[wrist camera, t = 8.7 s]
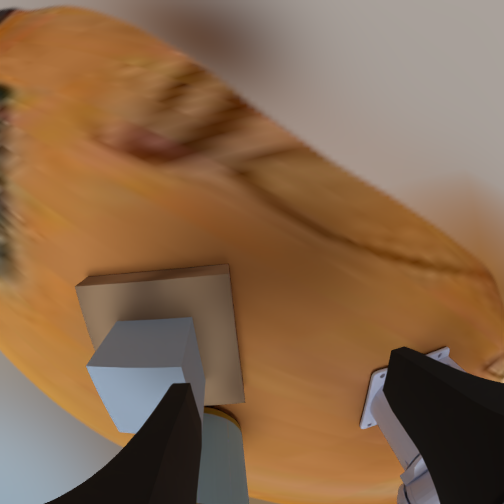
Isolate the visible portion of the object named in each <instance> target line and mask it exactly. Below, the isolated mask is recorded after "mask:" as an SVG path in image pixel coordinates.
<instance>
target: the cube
mask: <svg viewBox="0 0 504 504" xmlns="http://www.w3.org/2000/svg"><path fill="white" fill-rule="evenodd" d="M86 367H87V369H88V372H89V374H90V376H91V378H92V381H93V383H94V385H95V387H96V389H97V391H98V393H99V395H100V397H101V399H102V401H103V403H104V405H105V407H106V409H107V411H108V413H109V414H110V416H111V418H112V420H113V422H114V423H115V425H116V427H117V429H118V430H119V432H126V433H137V432H138V431H139V429H140V428H141V427H142V426H143V424H144V423H145V422H146V420H147V419H148V418H149V416H150V415H151V414H152V412H153V411H154V409H155V408H156V406H157V405H158V404H159V402H160V401H161V399H162V398H163V396H164V395H165V393H166V392H167V390H168V389H169V387H170V386H171V385H172V384H173V383H190V384H191V387H192V391H193V395H194V398H195V402H196V405H197V408H198V412H199V415H200V418H201V421H202V429H203V412H204V396H205V381H206V380H205V376H204V372H203V367H202V363H201V358H200V354H199V349H198V344H197V339H196V334H195V329H194V324H193V319H192V317H185V318H170V319H154V320H135V321H117V322H116V323H115V325H114V326H113V327H112V329H111V330H110V332H109V333H108V334H107V336H106V337H105V339H104V340H103V342H102V343H101V345H100V346H99V347H98V349H97V350H96V352H95V353H94V355H93V356H92V358H91V359H90V361H89V362H88V364H87V365H86Z"/></svg>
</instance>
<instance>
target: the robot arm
mask: <svg viewBox="0 0 504 504" xmlns="http://www.w3.org/2000/svg"><path fill="white" fill-rule="evenodd" d="M449 351H450V349H449V348H448V347H445V348H442V349H440V350H437V351H435V352H432V353H429V354H427V355H424V354H422V353H420V352H417V351H415V350H413V349H410V348H407V347H405V346H404V347H401V348H398V349H394V350H391V355H390V360H389V365H388V368H385V369H382V370H378V371H375V372H374V373H373V374H372V376H371V381H370V385H369V390H368V394H367V399H366V403H365V407H364V411H363V415H362V419H361V422H360V428H361V429H365V428H368V427H371V426H374V425H377V424H378V426H379V428H380V429H381V431H382V433H383V434H384V436H385V438H386V439H387V441H388V443H389V445H390V446H391V448H392V450H393V451H394V453H395V455H396V456H397V458H398V460H399V462H400V463H401V465H402V467H403V468H404V470H405V472H404V473H403V474H401V475H400V477H401V479H402V481H403V482H404V483H403V484H402V485H401V486H400V487H399V490H398V495H397V504H504V383H500V382H495V381H491V380H487V379H484V378H480V377H477V376H474V375H471V374H469V373H467V372H465V371H464V370H463V369H462V368H461V367H460V366H459V365H458V364H456V363H455V362H454V361H453V360H452V359H451V358H450V357H449V356H448V355H449ZM201 450H202V421H201V418H200V415H199V412H198V408H197V405H196V402H195V398H194V395H193V391H192V387H191V384H190V383H173V384H172V385H171V386H170V387H169V389H168V390H167V392H166V393H165V395H164V396H163V398H162V399H161V401H160V402H159V404H158V405H157V406H156V408H155V409H154V411H153V412H152V414H151V415H150V416H149V418H148V419H147V420H146V422H145V423H144V424H143V426H142V427H141V428H140V429H139V431H138V432H137V433H136V434H135V435H134V436H133V438H132V439H131V440H130V441H129V442H128V443H127V445H126V446H125V447H124V448H123V449H122V450H121V451H120V452H119V453H118V454H117V455H116V456H115V457H114V458H113V459H112V460H111V461H110V462H109V463H108V464H106V466H104V467H103V468H102V469H101V470H99V471H98V472H97V473H96V474H94V475H93V476H92V477H90V478H89V479H88V480H86V481H85V482H83V483H82V484H80V485H79V486H77V487H76V488H74V489H72V490H71V491H69V492H67V493H65V494H64V495H62V496H60V497H58V498H56V499H54V500H52V501H50V502H47V503H45V504H196V502H197V488H198V479H199V469H200V460H201Z"/></svg>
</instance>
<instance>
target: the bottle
mask: <svg viewBox="0 0 504 504" xmlns="http://www.w3.org/2000/svg"><path fill="white" fill-rule="evenodd" d="M196 504H249V497H248V488H247V479H246V469H245V460H244V450H243V439H242V433H241V427H240V425H239V424H238V423H237V422H236V420H235V419H233V418H232V417H230V416H229V415H227V414H226V413H224V412H222V411H219V410H217V409H214V408H210V407H204V412H203V429H202V450H201V460H200V469H199V479H198V488H197V502H196Z"/></svg>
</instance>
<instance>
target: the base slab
mask: <svg viewBox="0 0 504 504" xmlns="http://www.w3.org/2000/svg"><path fill="white" fill-rule="evenodd" d="M75 289H76V293H77V296H78V300H79V303H80V307H81V310H82V314H83V317H84V320H85V323H86V326H87V329H88V332H89V335H90V338H91V341H92V344H93V346H94V349H95V352H96V350H97V349H98V347H99V346H100V345H101V343H102V342H103V340H104V339H105V337H106V336H107V334H108V333H109V332H110V330H111V329H112V327H113V326H114V325H115V323H116V322H117V321H135V320H154V319H170V318H185V317H192V319H193V324H194V329H195V334H196V339H197V344H198V349H199V354H200V358H201V363H202V367H203V372H204V376H205V380H206V381H205V396H204V406H207V405H223V404H235V403H245V396H244V387H243V379H242V372H241V364H240V357H239V349H238V341H237V333H236V325H235V316H234V308H233V299H232V290H231V281H230V272H229V264H221V265H211V266H200V267H190V268H179V269H169V270H158V271H147V272H136V273H125V274H114V275H103V276H91V277H87V278H86V279H84V280H83V281H82V282H80V283H79V284H78V285H76V286H75Z"/></svg>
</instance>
